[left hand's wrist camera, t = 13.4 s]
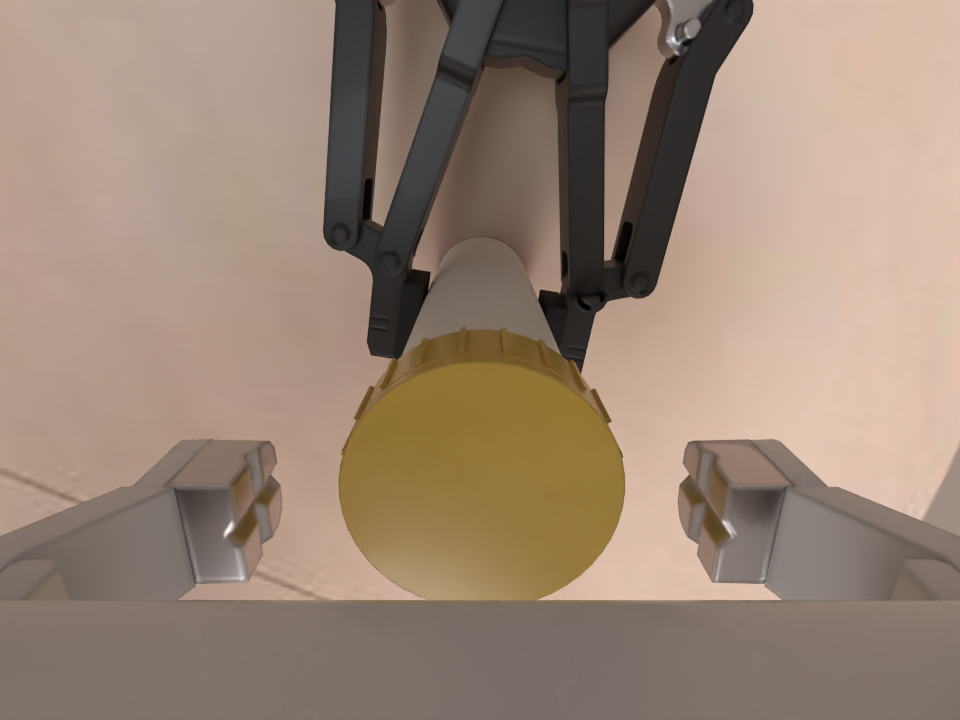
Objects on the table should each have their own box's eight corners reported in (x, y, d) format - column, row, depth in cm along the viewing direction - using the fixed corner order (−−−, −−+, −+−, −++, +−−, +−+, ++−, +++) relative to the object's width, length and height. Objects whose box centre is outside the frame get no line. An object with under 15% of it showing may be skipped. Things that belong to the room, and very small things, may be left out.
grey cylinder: (536, 312, 28) (625, 551, 11) (451, 335, 29) (406, 603, 11) (512, 225, 27) (572, 338, 9) (424, 251, 27) (323, 407, 10)
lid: (629, 516, 12) (654, 578, 10) (404, 571, 13) (391, 638, 11) (575, 293, 11) (594, 319, 9) (319, 366, 11) (287, 405, 9)
